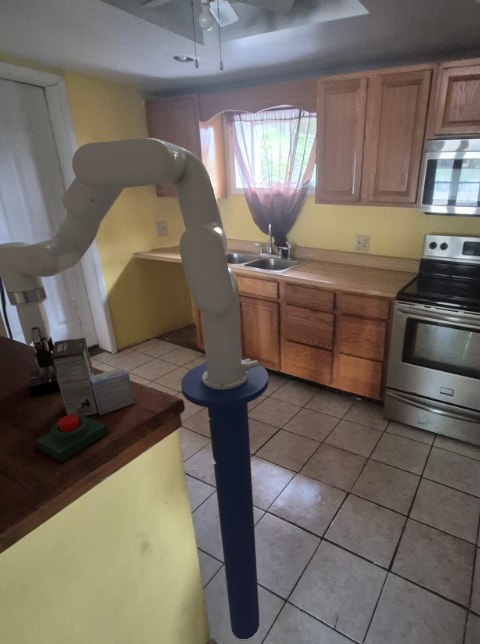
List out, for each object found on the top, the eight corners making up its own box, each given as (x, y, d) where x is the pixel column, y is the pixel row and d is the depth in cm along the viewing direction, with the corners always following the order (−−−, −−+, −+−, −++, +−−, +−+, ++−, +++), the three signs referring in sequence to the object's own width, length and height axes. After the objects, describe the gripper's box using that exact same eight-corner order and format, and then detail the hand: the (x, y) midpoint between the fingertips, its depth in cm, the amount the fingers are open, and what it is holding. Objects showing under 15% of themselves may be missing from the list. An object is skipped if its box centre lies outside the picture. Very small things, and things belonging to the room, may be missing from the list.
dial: (40, 372, 98) (35, 354, 96) (60, 369, 100) (55, 351, 98) (39, 380, 95) (33, 361, 93) (59, 376, 97) (54, 358, 95)
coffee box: (70, 400, 92) (54, 340, 85) (99, 394, 94) (85, 336, 88) (67, 420, 84) (49, 356, 78) (99, 413, 87) (83, 351, 80)
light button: (73, 419, 79) (71, 412, 78) (83, 424, 77) (81, 417, 77) (56, 428, 76) (53, 421, 75) (66, 434, 74) (64, 427, 74)
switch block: (84, 422, 84) (80, 407, 82) (107, 433, 80) (104, 418, 79) (38, 448, 76) (33, 432, 74) (62, 462, 72) (57, 445, 71)
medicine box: (129, 396, 94) (123, 366, 90) (135, 404, 91) (129, 373, 87) (95, 407, 89) (87, 376, 86) (100, 416, 86) (92, 384, 83)
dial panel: (71, 373, 105) (69, 363, 103) (73, 387, 98) (70, 377, 96) (33, 381, 100) (30, 371, 99) (32, 397, 93) (28, 386, 92)
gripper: (12, 289, 94) (32, 350, 101) (4, 308, 80) (28, 376, 87) (46, 285, 98) (64, 343, 104) (44, 302, 84) (65, 368, 91)
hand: (47, 358), depth 96 cm, fingers open, 9 cm apart
